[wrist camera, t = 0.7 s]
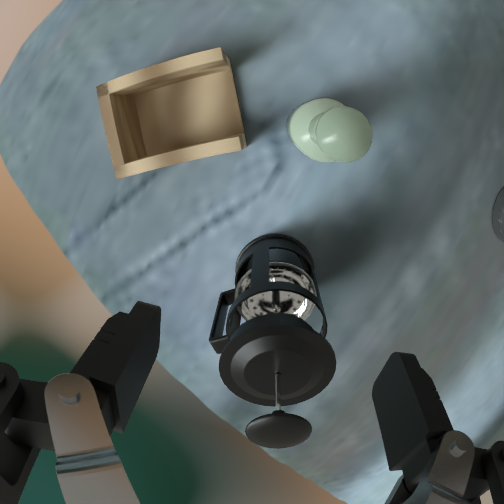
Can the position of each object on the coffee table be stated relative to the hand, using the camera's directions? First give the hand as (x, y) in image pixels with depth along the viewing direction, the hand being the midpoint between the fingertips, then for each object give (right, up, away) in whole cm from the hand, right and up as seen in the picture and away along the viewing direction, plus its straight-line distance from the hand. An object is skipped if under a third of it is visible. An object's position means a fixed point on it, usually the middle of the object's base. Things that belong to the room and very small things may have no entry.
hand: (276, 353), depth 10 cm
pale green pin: (+5, +16, +21) cm, 27 cm away
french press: (+1, +1, +28) cm, 29 cm away
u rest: (-8, +18, +21) cm, 29 cm away
